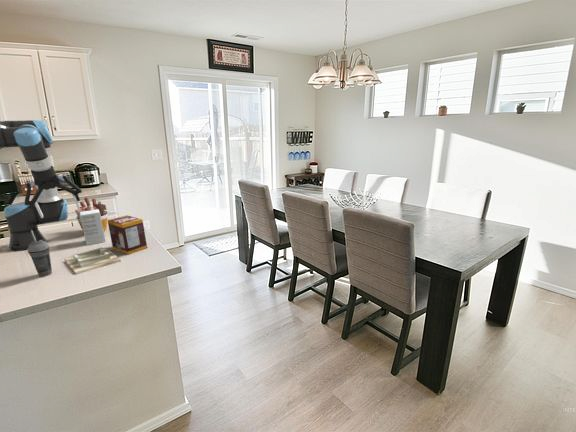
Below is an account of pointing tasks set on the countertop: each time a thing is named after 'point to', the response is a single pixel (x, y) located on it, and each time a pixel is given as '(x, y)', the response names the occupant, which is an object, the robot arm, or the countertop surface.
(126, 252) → the supplement box
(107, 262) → the cup holder
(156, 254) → the countertop surface
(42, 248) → the beverage cup
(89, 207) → the bucket of meat
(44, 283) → the countertop surface
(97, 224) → the supplement box
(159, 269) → the countertop surface
